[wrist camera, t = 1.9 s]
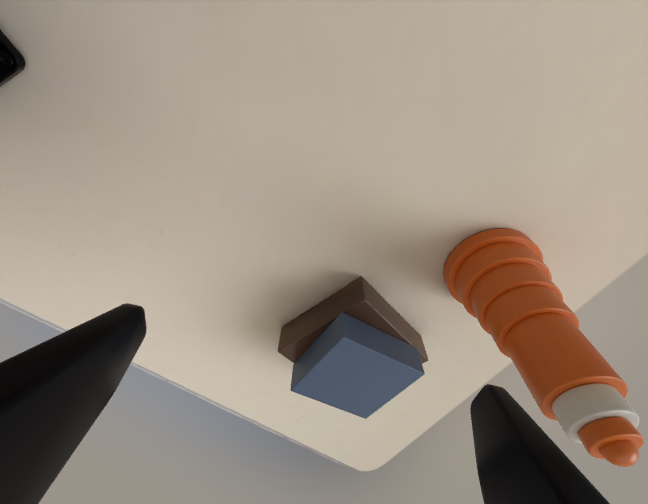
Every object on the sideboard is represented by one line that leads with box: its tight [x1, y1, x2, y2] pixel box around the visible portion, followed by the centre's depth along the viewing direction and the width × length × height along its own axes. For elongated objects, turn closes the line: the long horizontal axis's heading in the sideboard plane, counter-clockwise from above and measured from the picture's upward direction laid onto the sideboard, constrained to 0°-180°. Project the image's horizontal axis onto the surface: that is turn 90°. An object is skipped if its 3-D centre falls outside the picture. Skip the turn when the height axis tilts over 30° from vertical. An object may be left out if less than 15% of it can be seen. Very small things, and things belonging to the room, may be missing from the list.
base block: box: [278, 277, 428, 363], centre depth 25 cm, size 8×8×2 cm
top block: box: [291, 312, 424, 418], centre depth 23 cm, size 7×7×2 cm
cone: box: [444, 228, 644, 467], centre depth 17 cm, size 6×6×12 cm
